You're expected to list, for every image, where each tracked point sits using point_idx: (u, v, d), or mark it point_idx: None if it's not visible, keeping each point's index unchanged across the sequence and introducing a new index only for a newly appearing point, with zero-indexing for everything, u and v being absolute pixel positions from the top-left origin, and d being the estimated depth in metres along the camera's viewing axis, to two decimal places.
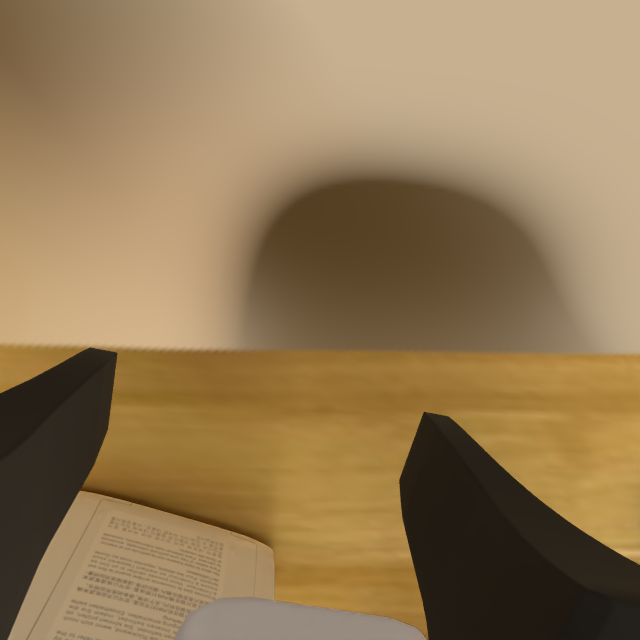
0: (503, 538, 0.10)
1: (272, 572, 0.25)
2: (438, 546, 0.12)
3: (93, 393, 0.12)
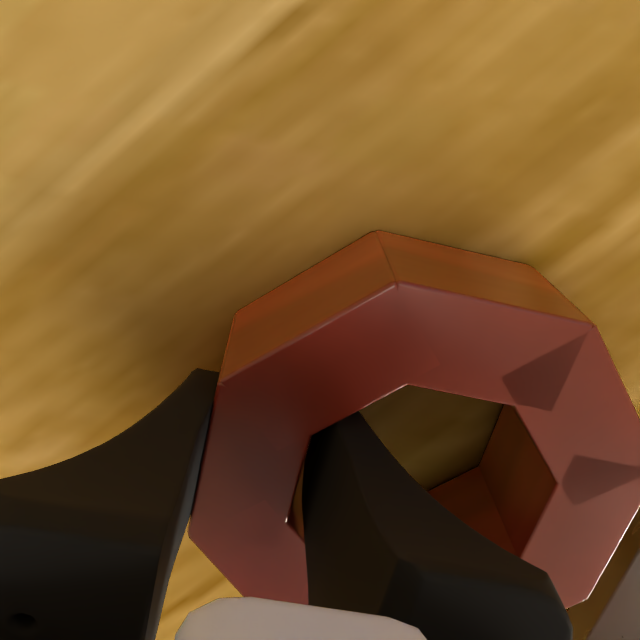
0: (358, 514, 0.09)
1: None
2: (321, 527, 0.12)
3: None
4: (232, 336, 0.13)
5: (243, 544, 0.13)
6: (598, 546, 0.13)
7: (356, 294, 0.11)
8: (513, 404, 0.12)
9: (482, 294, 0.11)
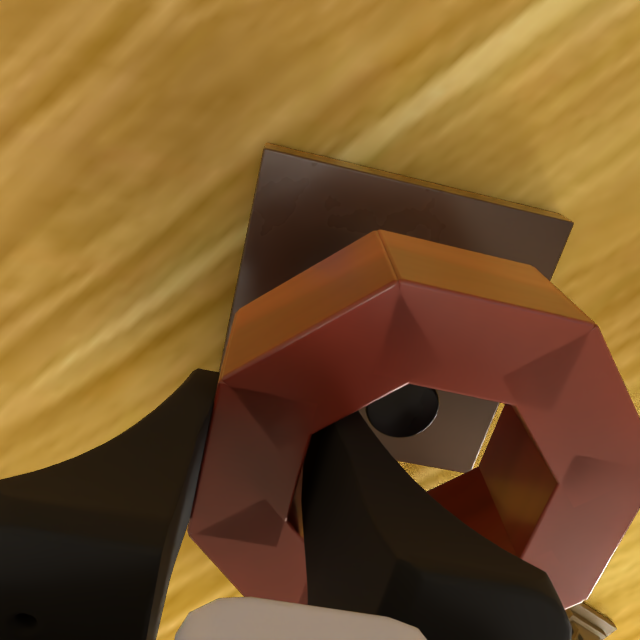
0: (357, 513, 0.09)
1: None
2: (320, 527, 0.12)
3: None
4: (233, 334, 0.13)
5: (243, 543, 0.13)
6: (597, 546, 0.13)
7: (358, 293, 0.11)
8: (514, 404, 0.12)
9: (484, 293, 0.11)
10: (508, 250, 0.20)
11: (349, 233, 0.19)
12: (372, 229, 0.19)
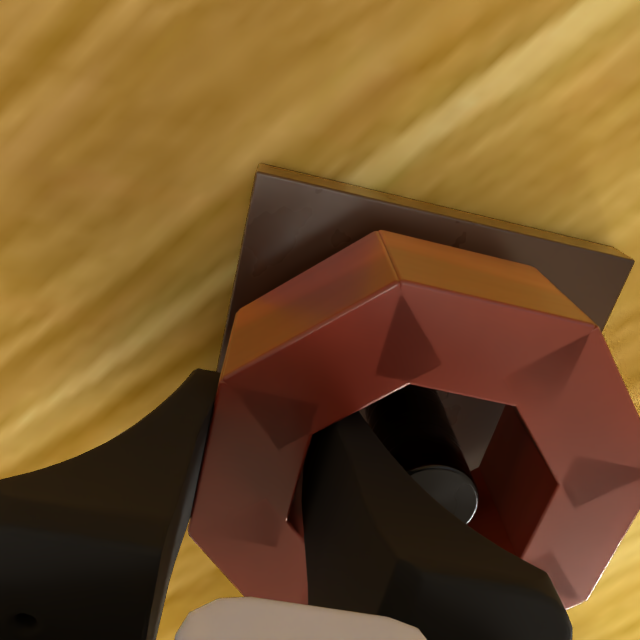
0: (357, 514, 0.09)
1: None
2: (321, 527, 0.12)
3: None
4: (234, 334, 0.13)
5: (243, 542, 0.13)
6: (598, 547, 0.13)
7: (359, 293, 0.11)
8: (515, 404, 0.12)
9: (484, 294, 0.11)
10: None
11: None
12: None
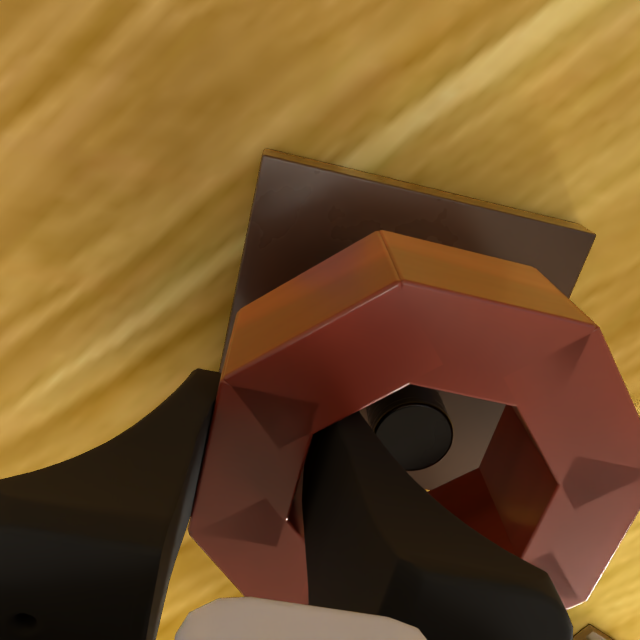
0: (358, 514, 0.09)
1: None
2: (321, 527, 0.12)
3: None
4: (235, 334, 0.13)
5: (243, 542, 0.13)
6: (597, 547, 0.13)
7: (361, 293, 0.11)
8: (515, 405, 0.12)
9: (485, 294, 0.11)
10: (525, 264, 0.18)
11: None
12: None
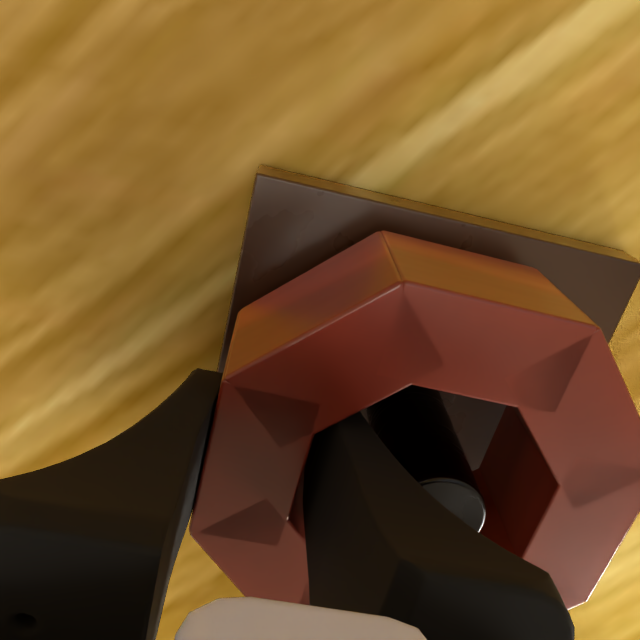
0: (359, 513, 0.09)
1: None
2: (322, 527, 0.12)
3: (212, 415, 0.12)
4: (236, 334, 0.13)
5: (244, 542, 0.13)
6: (598, 547, 0.13)
7: (362, 293, 0.11)
8: (516, 405, 0.12)
9: (487, 295, 0.11)
10: None
11: None
12: None
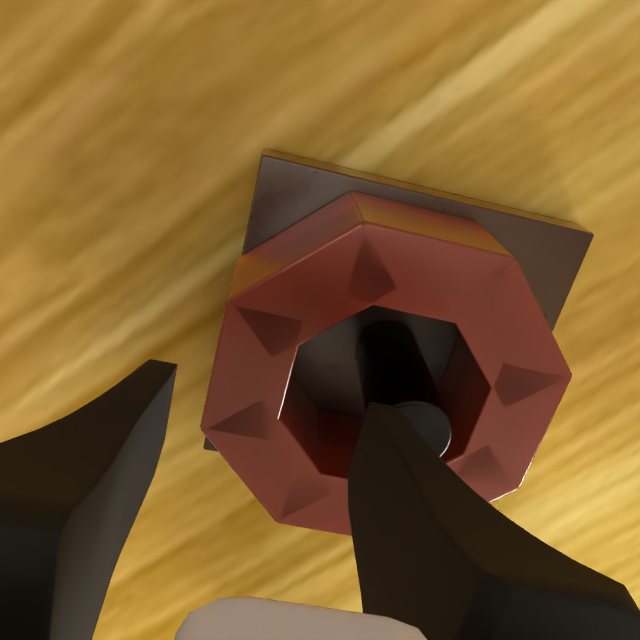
0: (425, 524, 0.10)
1: None
2: (375, 536, 0.12)
3: (160, 405, 0.12)
4: (236, 272, 0.17)
5: (244, 437, 0.16)
6: (525, 441, 0.17)
7: (333, 233, 0.15)
8: (454, 321, 0.15)
9: (429, 233, 0.15)
10: (523, 263, 0.18)
11: None
12: None
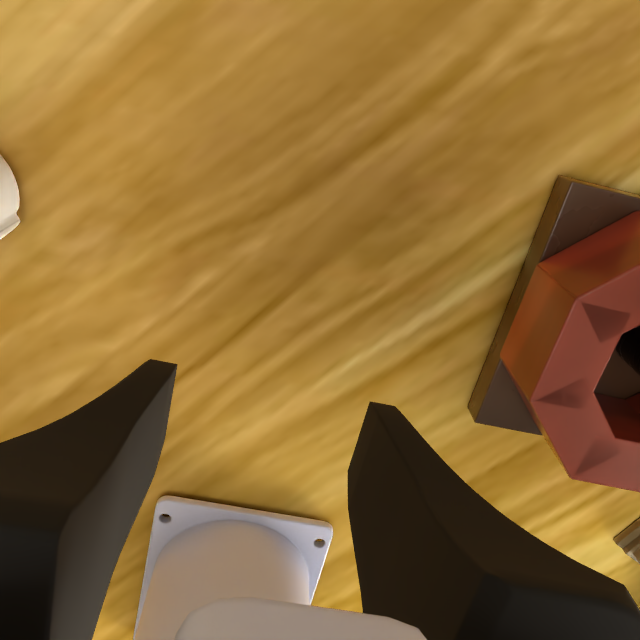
0: (424, 524, 0.10)
1: None
2: (375, 536, 0.12)
3: (160, 405, 0.12)
4: (555, 276, 0.21)
5: (562, 407, 0.21)
6: None
7: None
8: None
9: None
10: None
11: None
12: None
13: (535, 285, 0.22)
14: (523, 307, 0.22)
